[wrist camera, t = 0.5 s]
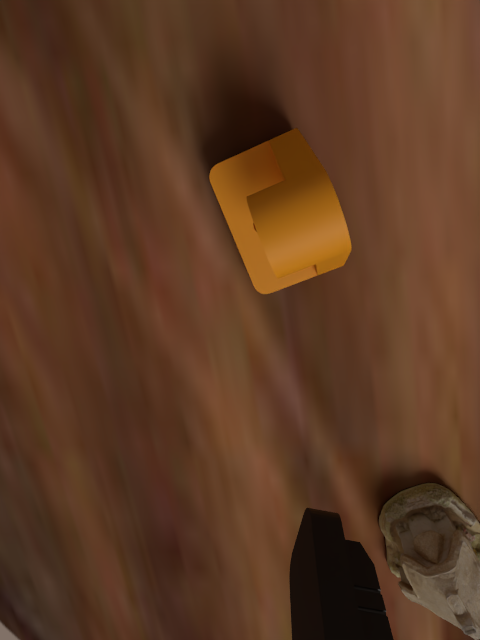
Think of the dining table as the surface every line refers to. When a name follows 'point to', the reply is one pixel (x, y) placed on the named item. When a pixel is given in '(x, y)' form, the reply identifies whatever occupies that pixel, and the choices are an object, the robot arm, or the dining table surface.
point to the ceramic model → (435, 552)
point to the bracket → (282, 212)
